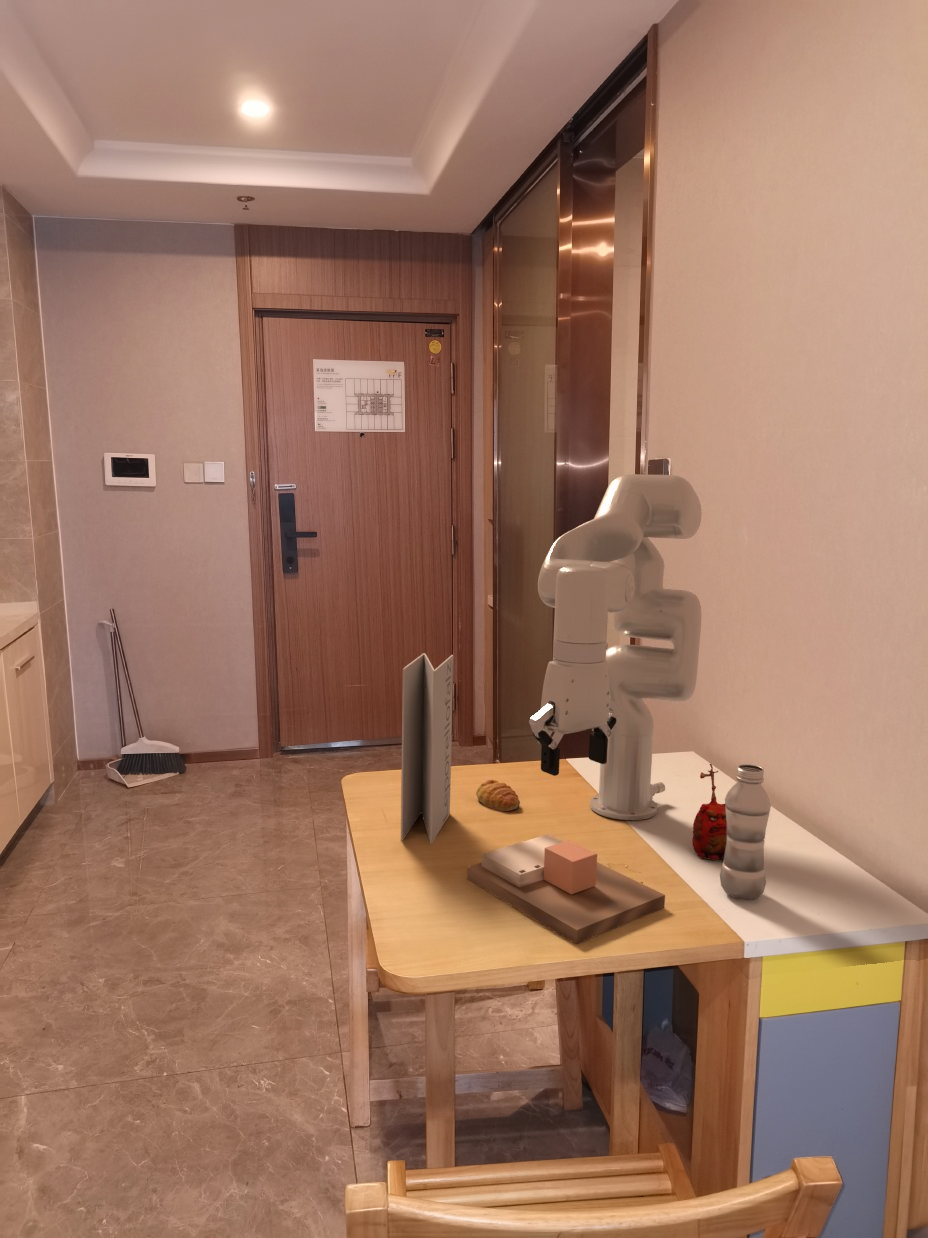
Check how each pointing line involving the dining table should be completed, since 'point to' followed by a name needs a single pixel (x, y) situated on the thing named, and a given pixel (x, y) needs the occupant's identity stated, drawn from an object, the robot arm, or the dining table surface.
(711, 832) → the red clay folk toy
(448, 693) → the brochure
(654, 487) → the robot arm
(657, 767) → the dining table surface
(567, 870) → the salmon upright block
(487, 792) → the pastry
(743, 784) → the plastic bottle
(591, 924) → the wooden base board
